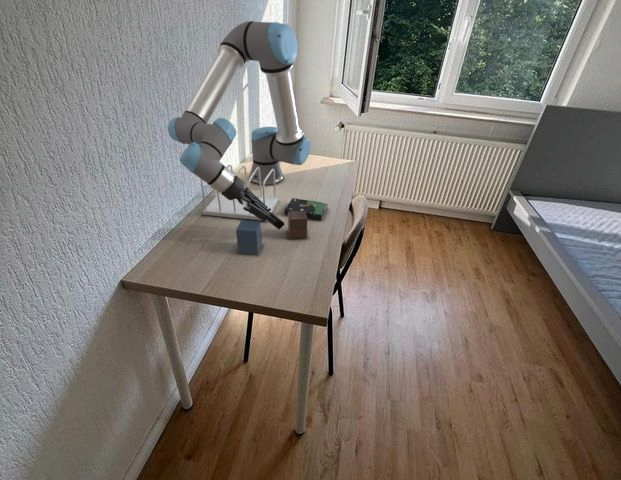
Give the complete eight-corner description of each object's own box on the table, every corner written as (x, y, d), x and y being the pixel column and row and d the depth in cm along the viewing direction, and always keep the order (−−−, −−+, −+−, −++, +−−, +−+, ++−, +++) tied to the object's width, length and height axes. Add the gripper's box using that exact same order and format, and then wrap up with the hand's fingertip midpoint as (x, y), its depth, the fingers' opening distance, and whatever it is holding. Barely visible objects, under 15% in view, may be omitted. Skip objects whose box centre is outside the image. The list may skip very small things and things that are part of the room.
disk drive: (284, 215, 134) (322, 221, 131) (284, 209, 132) (322, 214, 129) (292, 203, 142) (327, 208, 139) (292, 197, 141) (327, 202, 138)
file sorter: (278, 201, 143) (277, 165, 135) (267, 222, 129) (266, 183, 120) (219, 195, 146) (215, 159, 137) (203, 215, 132) (197, 177, 123)
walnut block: (288, 231, 124) (287, 211, 120) (304, 230, 125) (305, 210, 121) (289, 239, 120) (289, 219, 115) (306, 238, 121) (307, 218, 116)
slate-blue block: (243, 243, 117) (241, 220, 112) (261, 244, 117) (260, 221, 112) (238, 253, 112) (236, 229, 107) (257, 255, 112) (256, 231, 107)
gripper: (220, 183, 114) (272, 223, 127) (219, 201, 104) (276, 243, 116) (235, 167, 112) (286, 209, 125) (236, 184, 102) (292, 228, 114)
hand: (281, 226), depth 120 cm, fingers closed
